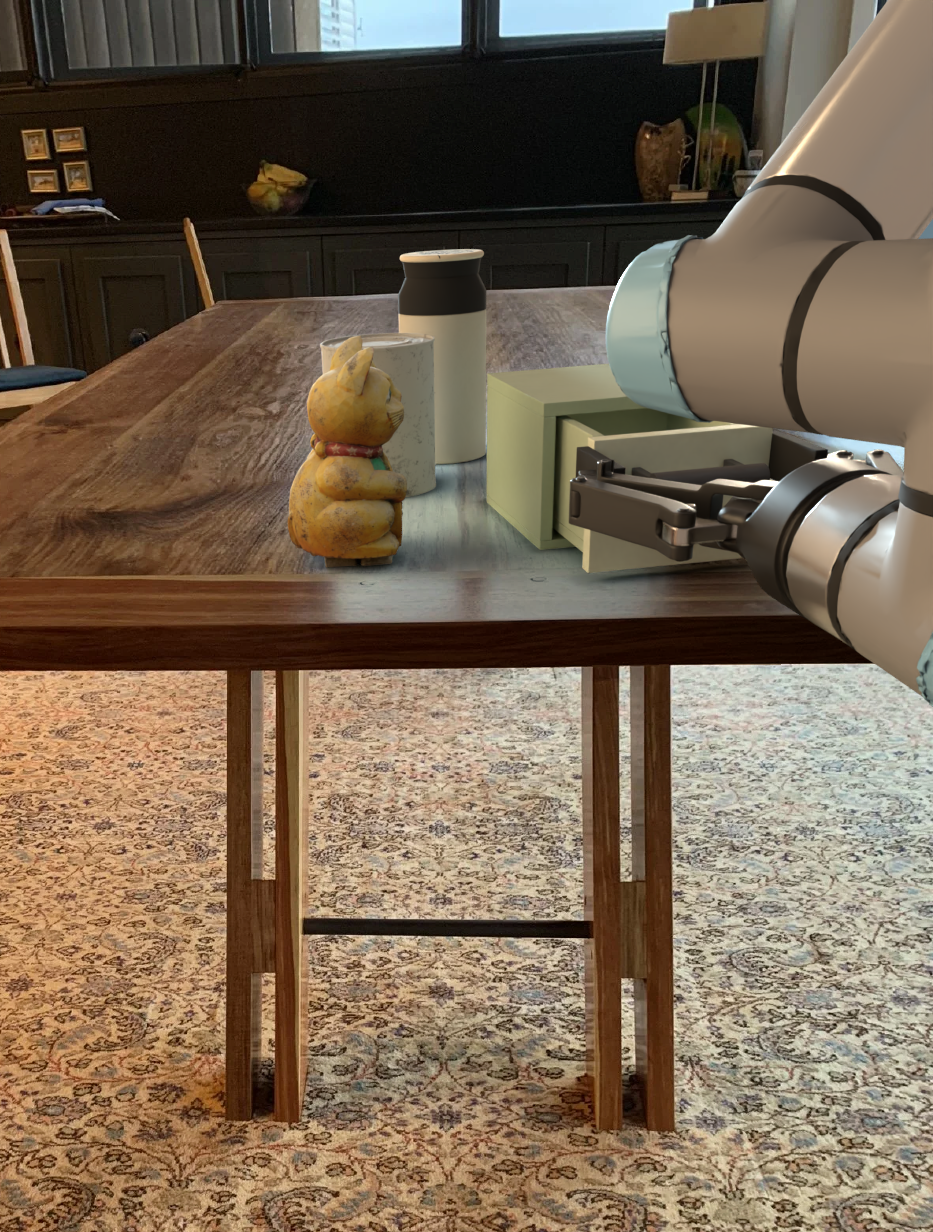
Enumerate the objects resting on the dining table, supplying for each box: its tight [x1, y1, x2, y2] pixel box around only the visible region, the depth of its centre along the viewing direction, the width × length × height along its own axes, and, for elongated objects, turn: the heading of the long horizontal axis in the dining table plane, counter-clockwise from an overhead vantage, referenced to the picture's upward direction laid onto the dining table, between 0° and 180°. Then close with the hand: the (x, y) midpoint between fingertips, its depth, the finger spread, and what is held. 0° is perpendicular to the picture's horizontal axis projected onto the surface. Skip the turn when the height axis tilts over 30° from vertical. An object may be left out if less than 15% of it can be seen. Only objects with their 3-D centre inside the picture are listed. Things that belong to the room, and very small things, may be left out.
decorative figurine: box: [286, 335, 407, 568], centre depth 83 cm, size 10×8×15 cm
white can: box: [319, 332, 437, 498], centre depth 102 cm, size 10×10×12 cm
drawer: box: [552, 408, 774, 574], centre depth 80 cm, size 18×12×8 cm, turn 8°
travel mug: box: [397, 248, 487, 465], centre depth 111 cm, size 8×8×18 cm
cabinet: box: [486, 363, 646, 551], centre depth 90 cm, size 15×13×10 cm
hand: (675, 460), depth 76 cm, fingers closed on drawer, 12 cm apart
